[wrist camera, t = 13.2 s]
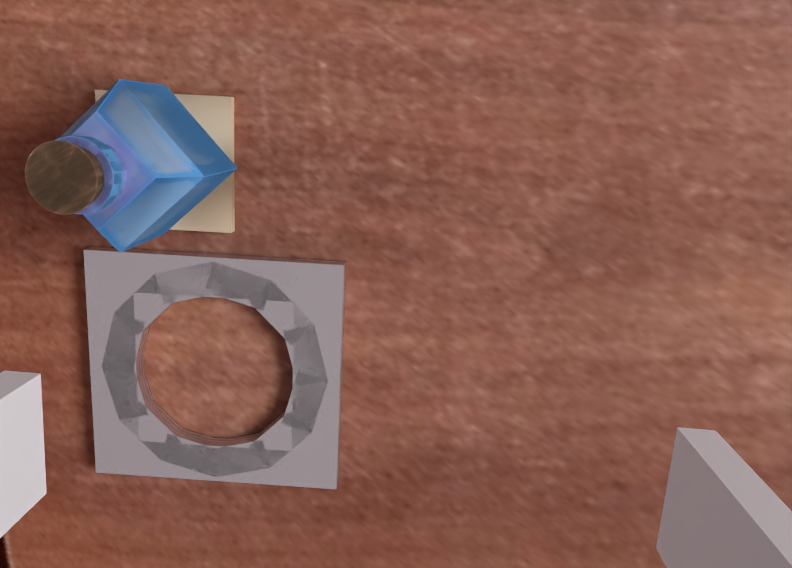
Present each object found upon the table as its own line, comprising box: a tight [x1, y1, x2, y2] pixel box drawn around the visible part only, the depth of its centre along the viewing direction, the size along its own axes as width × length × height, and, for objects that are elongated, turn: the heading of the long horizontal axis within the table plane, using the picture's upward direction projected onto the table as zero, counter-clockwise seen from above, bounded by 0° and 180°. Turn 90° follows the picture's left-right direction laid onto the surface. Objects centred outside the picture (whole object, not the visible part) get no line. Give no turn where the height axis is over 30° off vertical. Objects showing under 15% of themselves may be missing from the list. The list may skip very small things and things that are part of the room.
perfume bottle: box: [25, 79, 238, 253], centre depth 35 cm, size 6×6×12 cm
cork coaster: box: [95, 90, 235, 233], centre depth 42 cm, size 8×8×1 cm
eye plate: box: [84, 246, 346, 489], centre depth 44 cm, size 15×16×1 cm
